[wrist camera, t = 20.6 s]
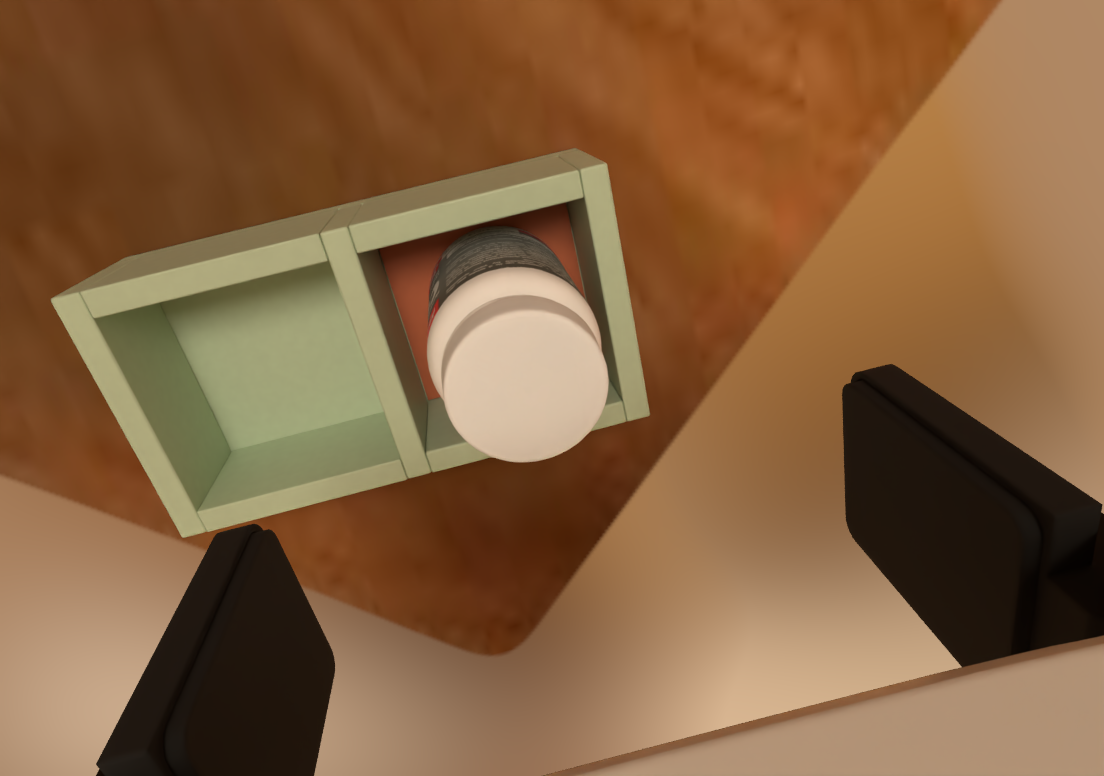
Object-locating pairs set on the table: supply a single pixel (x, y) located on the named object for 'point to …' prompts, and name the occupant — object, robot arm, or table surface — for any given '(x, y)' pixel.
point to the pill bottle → (513, 346)
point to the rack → (326, 339)
